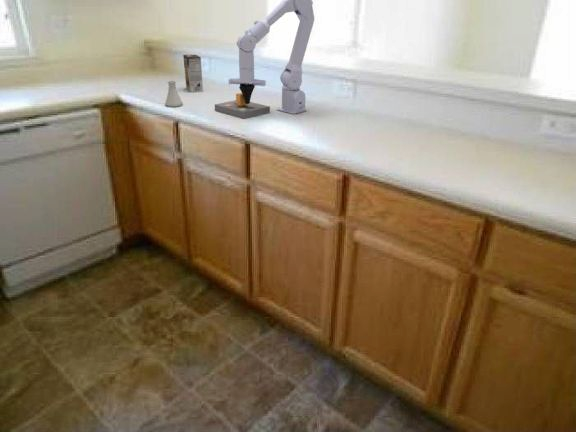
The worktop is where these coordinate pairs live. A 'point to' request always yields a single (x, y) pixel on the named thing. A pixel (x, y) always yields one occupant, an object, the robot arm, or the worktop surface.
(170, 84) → the flask
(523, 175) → the worktop surface
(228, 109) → the breaker panel
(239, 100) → the block
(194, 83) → the coffee box
